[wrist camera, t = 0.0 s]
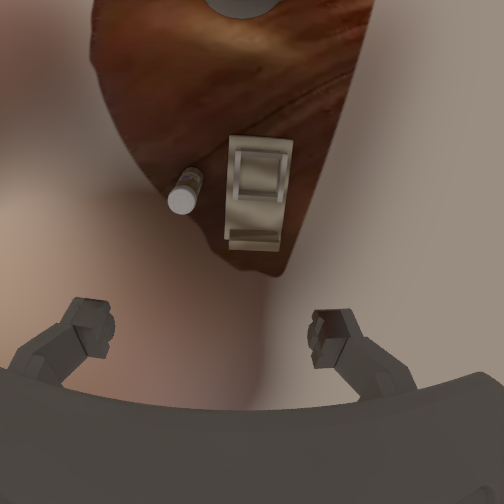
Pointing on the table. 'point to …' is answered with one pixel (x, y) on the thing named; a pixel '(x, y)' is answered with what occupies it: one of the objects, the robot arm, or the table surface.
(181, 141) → the table surface
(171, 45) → the table surface
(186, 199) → the sprinkles bottle
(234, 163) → the caddy
